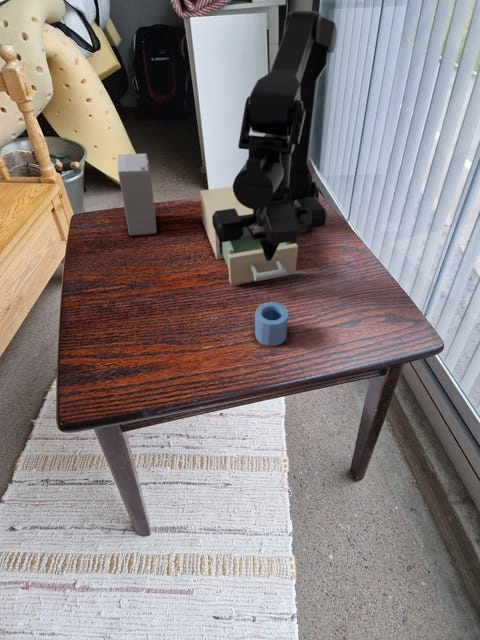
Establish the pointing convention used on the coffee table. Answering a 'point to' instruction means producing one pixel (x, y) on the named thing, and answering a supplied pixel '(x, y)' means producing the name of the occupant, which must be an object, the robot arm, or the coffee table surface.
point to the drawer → (257, 259)
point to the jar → (271, 323)
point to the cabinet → (215, 202)
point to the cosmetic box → (137, 193)
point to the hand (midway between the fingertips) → (268, 259)
